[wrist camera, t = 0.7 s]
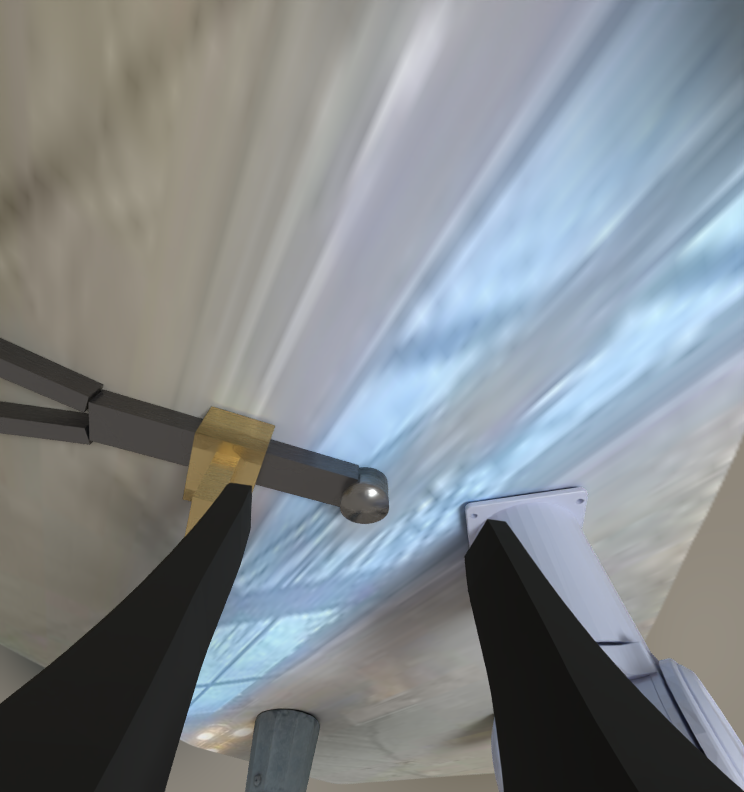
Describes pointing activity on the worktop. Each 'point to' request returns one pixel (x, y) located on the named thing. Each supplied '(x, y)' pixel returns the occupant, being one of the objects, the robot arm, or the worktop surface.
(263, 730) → the moka pot
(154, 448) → the grey long bar part
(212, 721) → the worktop surface
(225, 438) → the collar
